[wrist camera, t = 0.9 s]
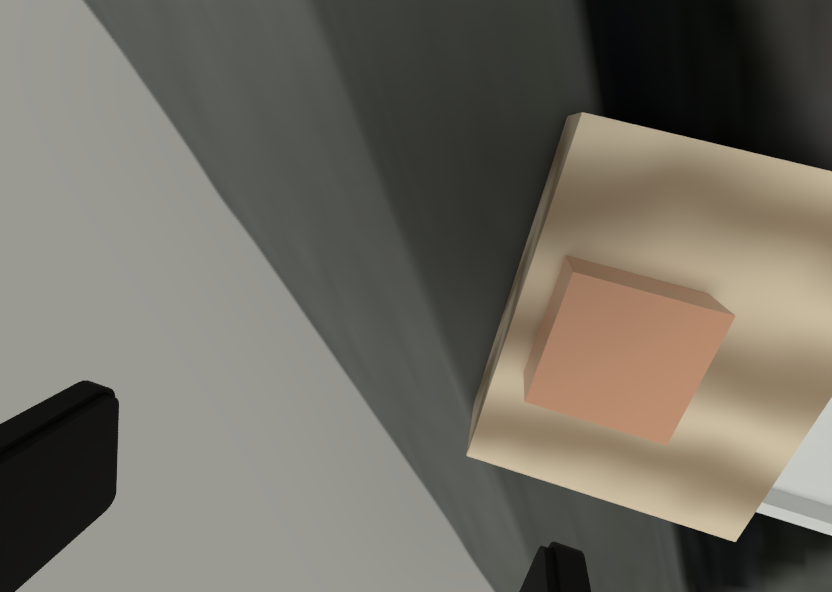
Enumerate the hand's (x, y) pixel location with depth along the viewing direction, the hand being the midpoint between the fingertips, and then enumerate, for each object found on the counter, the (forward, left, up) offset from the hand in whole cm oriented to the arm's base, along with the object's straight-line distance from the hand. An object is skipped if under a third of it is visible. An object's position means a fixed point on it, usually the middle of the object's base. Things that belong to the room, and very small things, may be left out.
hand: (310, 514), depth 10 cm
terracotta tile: (0, +10, -17) cm, 19 cm away
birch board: (0, +13, -23) cm, 26 cm away
